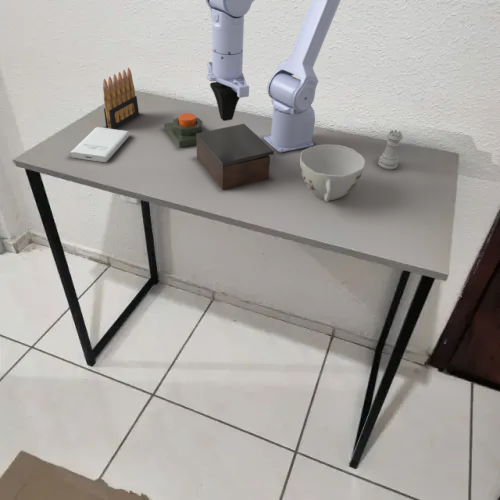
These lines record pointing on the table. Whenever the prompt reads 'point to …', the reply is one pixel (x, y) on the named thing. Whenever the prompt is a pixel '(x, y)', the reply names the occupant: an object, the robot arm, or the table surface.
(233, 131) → the lid
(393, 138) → the rook chess piece
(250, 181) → the wooden lidded box
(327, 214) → the table surface
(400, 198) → the table surface
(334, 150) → the teacup
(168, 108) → the table surface
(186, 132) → the control block
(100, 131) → the hard drive
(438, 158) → the table surface
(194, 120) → the button
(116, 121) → the ammunition clip
